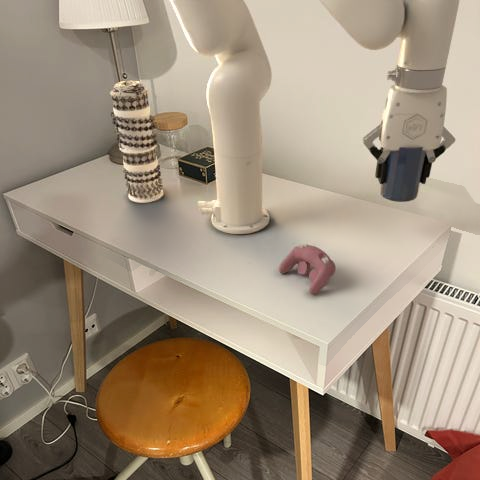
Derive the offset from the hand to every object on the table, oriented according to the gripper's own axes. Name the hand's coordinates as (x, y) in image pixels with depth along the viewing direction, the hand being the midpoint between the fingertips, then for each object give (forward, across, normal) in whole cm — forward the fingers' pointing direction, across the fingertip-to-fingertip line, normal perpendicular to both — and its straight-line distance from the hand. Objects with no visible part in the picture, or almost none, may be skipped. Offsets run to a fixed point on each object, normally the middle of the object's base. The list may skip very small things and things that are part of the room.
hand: (401, 180), depth 91 cm
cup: (+3, 0, 0) cm, 3 cm away
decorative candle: (+12, -55, +19) cm, 60 cm away
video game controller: (+12, -18, -16) cm, 27 cm away
